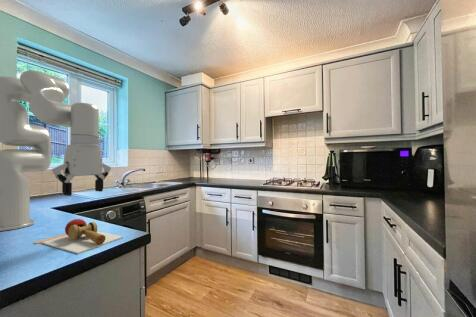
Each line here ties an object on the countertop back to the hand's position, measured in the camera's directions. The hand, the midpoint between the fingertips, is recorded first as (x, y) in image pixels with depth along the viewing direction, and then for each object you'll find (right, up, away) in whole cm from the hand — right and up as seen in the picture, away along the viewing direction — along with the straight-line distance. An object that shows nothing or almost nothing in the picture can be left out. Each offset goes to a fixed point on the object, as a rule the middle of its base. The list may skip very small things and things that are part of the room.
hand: (84, 193), depth 71 cm
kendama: (+1, -16, 0) cm, 16 cm away
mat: (0, -16, 0) cm, 16 cm away
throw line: (-11, -16, +5) cm, 20 cm away
